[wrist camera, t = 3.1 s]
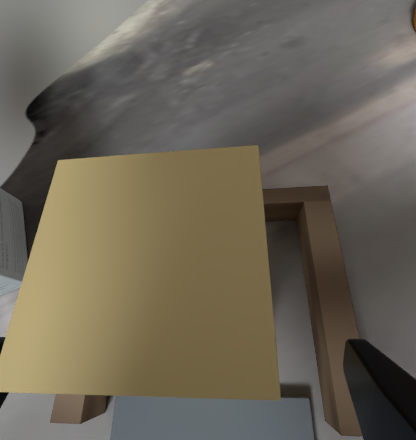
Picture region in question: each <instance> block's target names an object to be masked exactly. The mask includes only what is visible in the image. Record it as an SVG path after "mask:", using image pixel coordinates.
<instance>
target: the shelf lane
mask: <svg viewBox="0 0 416 440" xmlns="http://www.w3.org/2000/svg"><path fill="white" fill-rule="evenodd" d="M262 192H263V203H264V214H265V221H281V220H297V226H298V233H299V240H300V247H301V254H302V261H303V268H304V275H305V282H306V289H307V296H308V303H309V310H310V317H311V324H312V331H313V338H314V345H315V352H316V359H317V366H318V373H319V380H320V387H321V394H322V401H323V408H324V415H325V421H326V422H327V423H328V424H329V425H330V426H331V427H333V428H334V429H335V430H336V431H337V432H338V433H339V434H340V435H344V436H363V435H362V432H361V429H360V426H359V422H358V419H357V415H356V412H355V409H354V405H353V402H352V399H351V395H350V392H349V389H348V385H347V382H346V379H345V375H344V371H343V358H344V349H345V342H346V340H347V339H359V334H358V330H357V325H356V320H355V315H354V310H353V305H352V301H351V296H350V291H349V286H348V281H347V277H346V272H345V267H344V262H343V257H342V253H341V248H340V243H339V238H338V233H337V229H336V224H335V219H334V214H333V209H332V205H331V200H330V195H329V190H328V186H312V187H295V188H277V189H262ZM106 402H107V395H80V394H56V396H55V401H54V406H53V411H52V415H51V420H50V423H69V424H81V423H83V422H85V421H88V420H90V419H92V418H94V417H96V416H99V415H101V414H103V413H105V409H106Z"/></svg>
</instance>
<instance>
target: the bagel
mask: <svg viewBox="0 0 416 440" xmlns="http://www.w3.org/2000/svg"><path fill="white" fill-rule="evenodd" d="M413 24H414V27H415V31H416V9H415V14H414V19H413Z"/></svg>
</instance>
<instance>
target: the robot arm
mask: <svg viewBox="0 0 416 440" xmlns="http://www.w3.org/2000/svg"><path fill="white" fill-rule="evenodd" d="M5 338H6V337H0V354H1V351H2V348H3V344H4V341H5ZM343 371H344V375H345V379H346V382H347V385H348V389H349V392H350V395H351V399H352V402H353V405H354V409H355V412H356V415H357V419H358V422H359V426H360V429H361V432H362V435H363V439H364V440H416V379H415V378H413V377H412V376H411V375H410V374H408V373H407V372H406V371H405V370H403V369H402V368H401V367H400V366H398V365H397V364H396V363H394V362H393V361H392V360H391V359H389V358H388V357H387V356H386V355H384V354H383V353H382V352H380V351H379V350H378V349H377V348H375V347H374V346H373V345H372V344H370V343H369V342H368V341H366V340H364V339H347V340H346V342H345V349H344V358H343ZM8 393H9V392H0V408H1V406H2V404H3V402H4V400H5V399H6V397H7V395H8Z"/></svg>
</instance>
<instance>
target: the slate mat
mask: <svg viewBox="0 0 416 440" xmlns="http://www.w3.org/2000/svg"><path fill="white" fill-rule="evenodd" d="M110 440H314V433H313V425H312V417H311V409H310V401H309V398H308V397H302V396H281V401H277V400H244V399H211V398H178V397H146V396H116V399H115V407H114V415H113V423H112V430H111V438H110Z"/></svg>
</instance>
